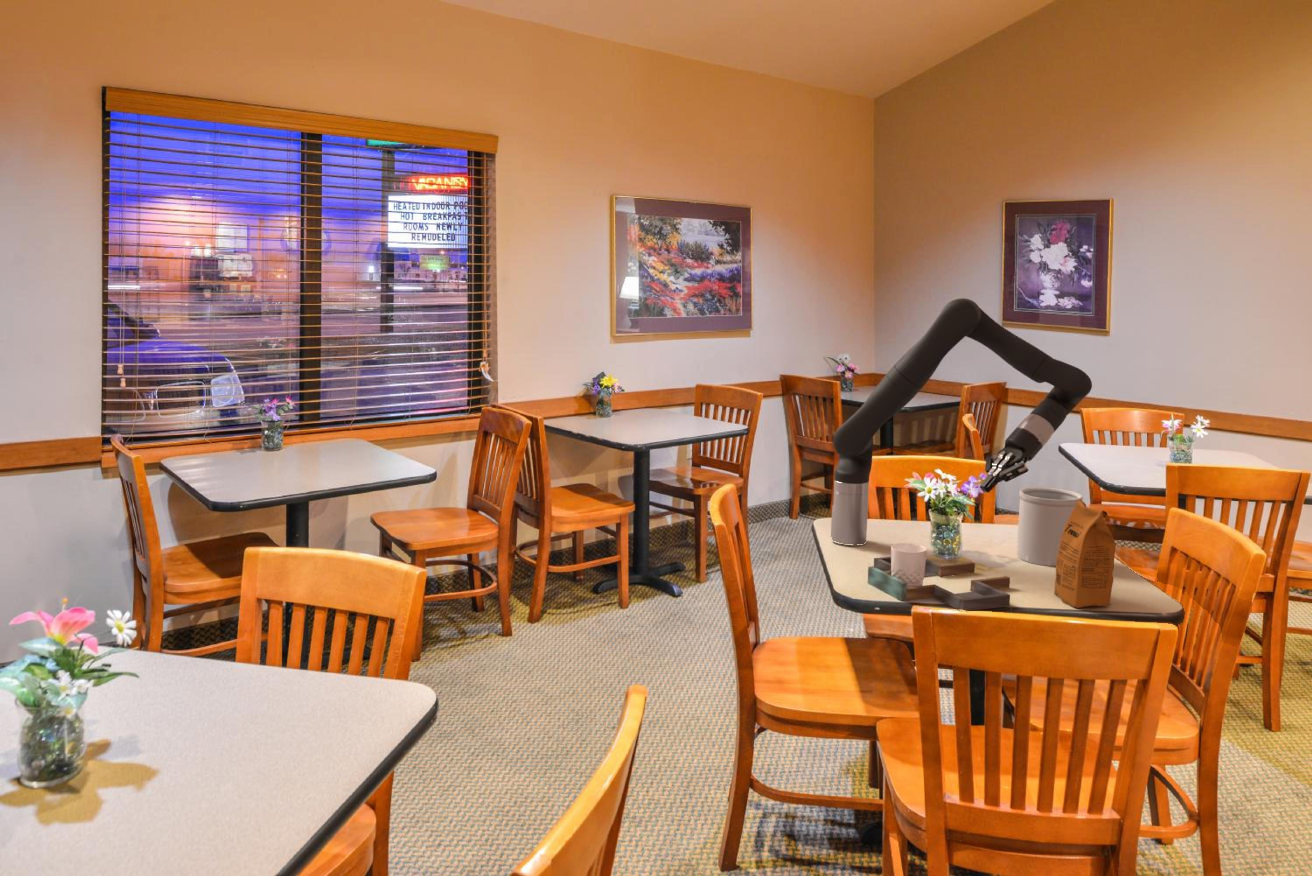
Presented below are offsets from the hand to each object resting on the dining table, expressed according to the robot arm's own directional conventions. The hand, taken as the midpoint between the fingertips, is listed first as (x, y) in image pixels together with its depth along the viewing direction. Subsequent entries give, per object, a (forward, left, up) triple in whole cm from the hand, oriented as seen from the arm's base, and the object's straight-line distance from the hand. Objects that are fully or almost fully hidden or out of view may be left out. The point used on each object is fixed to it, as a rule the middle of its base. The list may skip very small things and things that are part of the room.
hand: (983, 489), depth 217 cm
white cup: (+3, -23, -22) cm, 31 cm away
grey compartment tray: (+3, -14, -21) cm, 26 cm away
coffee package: (+22, +10, -22) cm, 32 cm away
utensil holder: (-7, +27, -22) cm, 35 cm away
